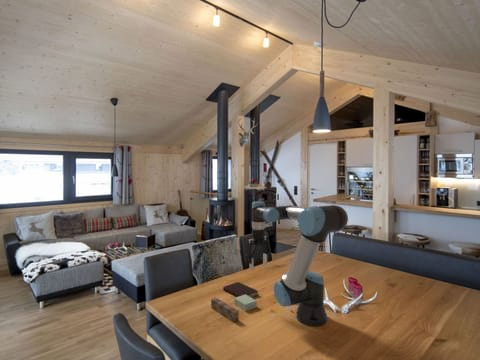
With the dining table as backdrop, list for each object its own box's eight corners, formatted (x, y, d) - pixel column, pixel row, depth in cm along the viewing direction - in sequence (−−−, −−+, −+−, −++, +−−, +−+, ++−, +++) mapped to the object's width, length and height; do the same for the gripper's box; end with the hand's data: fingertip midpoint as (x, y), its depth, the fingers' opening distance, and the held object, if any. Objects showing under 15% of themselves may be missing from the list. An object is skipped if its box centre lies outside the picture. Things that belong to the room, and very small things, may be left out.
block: (256, 307, 162) (256, 300, 162) (244, 311, 157) (244, 304, 157) (245, 301, 170) (245, 294, 170) (234, 304, 165) (234, 297, 165)
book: (242, 302, 169) (242, 296, 169) (223, 291, 184) (223, 285, 184) (258, 296, 177) (258, 290, 177) (238, 286, 192) (238, 281, 192)
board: (238, 320, 147) (238, 310, 147) (233, 322, 146) (233, 312, 145) (215, 306, 163) (215, 297, 163) (211, 307, 161) (211, 298, 161)
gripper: (267, 225, 178) (267, 261, 179) (238, 230, 164) (239, 269, 165) (276, 227, 173) (276, 264, 173) (247, 232, 158) (247, 273, 159)
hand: (258, 267), depth 169 cm, fingers open, 10 cm apart
